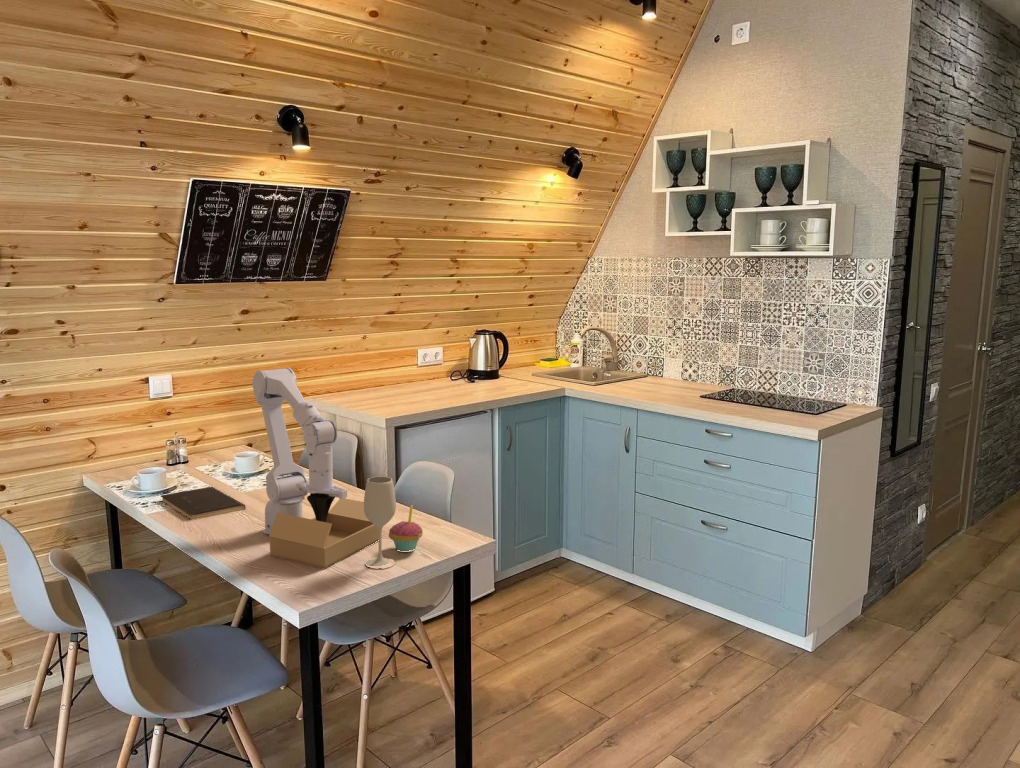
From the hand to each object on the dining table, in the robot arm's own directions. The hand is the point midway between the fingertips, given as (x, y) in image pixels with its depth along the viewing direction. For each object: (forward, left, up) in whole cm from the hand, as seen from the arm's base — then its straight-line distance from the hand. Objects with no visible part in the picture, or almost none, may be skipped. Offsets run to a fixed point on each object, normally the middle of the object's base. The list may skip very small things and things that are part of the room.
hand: (321, 522), depth 195 cm
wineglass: (+18, 0, -8) cm, 19 cm away
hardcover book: (-54, +12, -8) cm, 56 cm away
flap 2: (0, +15, -1) cm, 16 cm away
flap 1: (0, -8, 0) cm, 8 cm away
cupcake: (+18, +11, -8) cm, 22 cm away
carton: (0, +2, -7) cm, 8 cm away
